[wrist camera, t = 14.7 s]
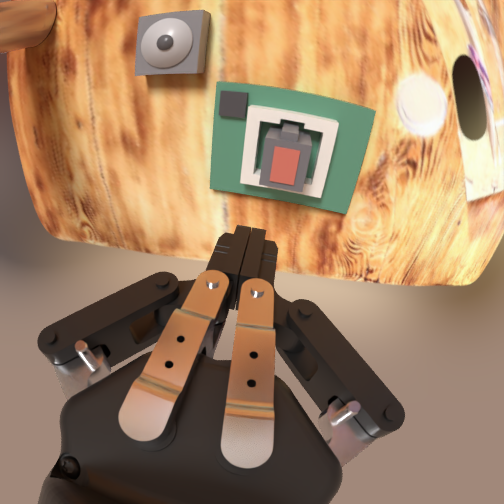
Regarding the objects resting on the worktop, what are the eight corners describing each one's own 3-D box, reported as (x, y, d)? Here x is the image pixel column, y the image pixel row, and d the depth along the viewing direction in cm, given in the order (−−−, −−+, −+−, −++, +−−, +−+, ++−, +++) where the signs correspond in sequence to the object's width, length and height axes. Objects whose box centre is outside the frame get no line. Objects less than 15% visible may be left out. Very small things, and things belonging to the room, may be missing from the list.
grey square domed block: (145, 74, 26) (132, 76, 24) (149, 19, 21) (137, 16, 19) (203, 73, 26) (195, 73, 24) (210, 13, 21) (202, 9, 19)
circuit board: (212, 185, 35) (205, 195, 33) (219, 81, 27) (211, 82, 24) (344, 209, 34) (348, 222, 32) (373, 109, 26) (380, 113, 23)
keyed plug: (265, 164, 31) (258, 185, 27) (272, 118, 28) (266, 129, 23) (301, 171, 31) (302, 193, 26) (310, 125, 27) (313, 138, 23)
